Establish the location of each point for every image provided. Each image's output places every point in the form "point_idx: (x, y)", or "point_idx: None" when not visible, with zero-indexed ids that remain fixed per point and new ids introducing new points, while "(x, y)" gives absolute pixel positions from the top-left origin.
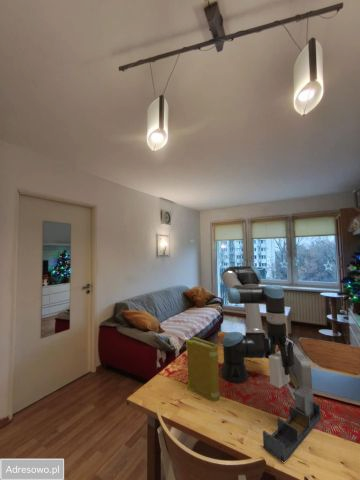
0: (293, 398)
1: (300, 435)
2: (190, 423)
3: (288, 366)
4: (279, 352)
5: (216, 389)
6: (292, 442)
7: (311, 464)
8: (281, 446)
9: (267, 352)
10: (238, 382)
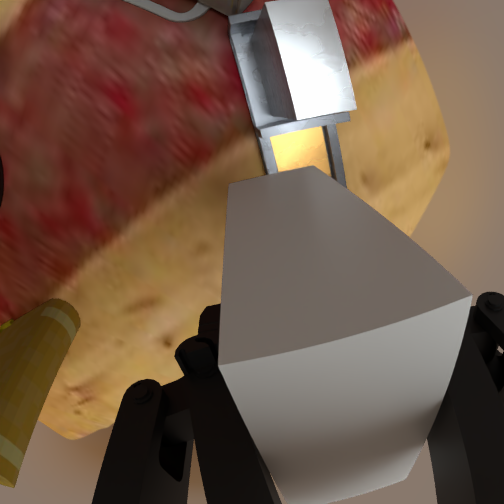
0: (166, 18)
1: (342, 184)
2: None
3: None
4: (304, 404)
5: (65, 342)
6: None
7: (392, 223)
8: None
9: (183, 484)
10: (1, 190)
